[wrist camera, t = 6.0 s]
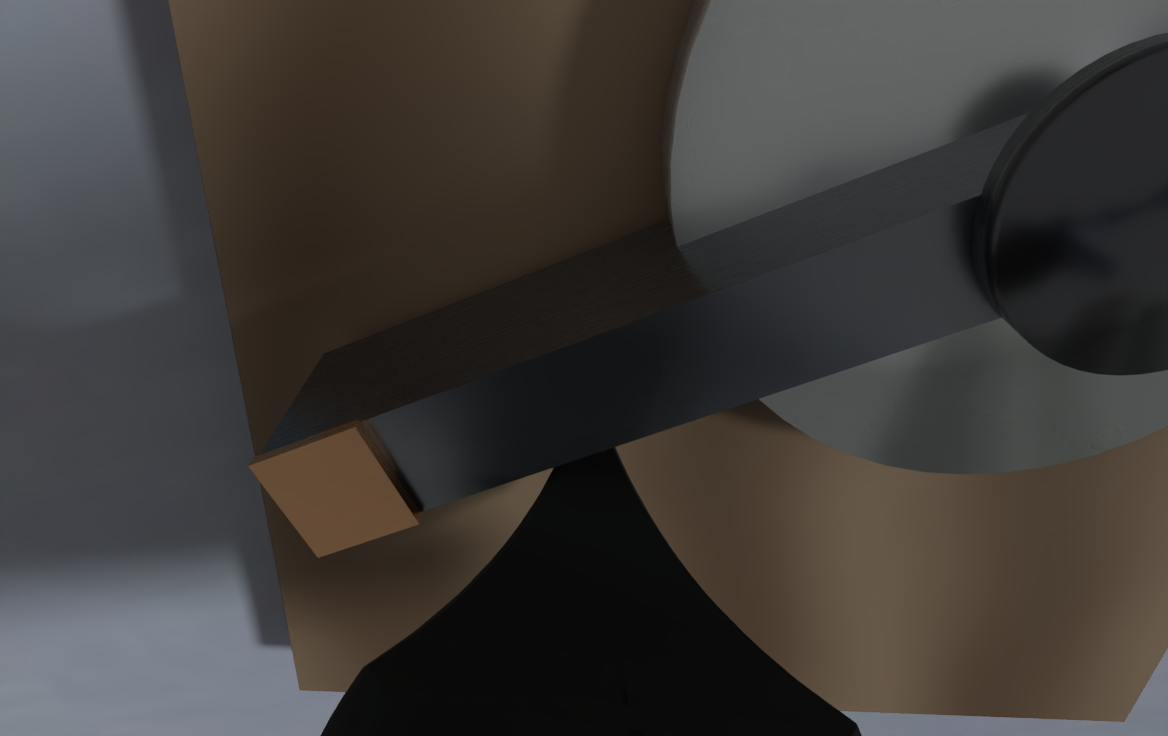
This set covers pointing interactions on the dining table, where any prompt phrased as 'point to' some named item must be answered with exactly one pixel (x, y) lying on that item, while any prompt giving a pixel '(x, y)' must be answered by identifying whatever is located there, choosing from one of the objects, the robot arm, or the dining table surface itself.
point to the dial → (807, 269)
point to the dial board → (653, 463)
